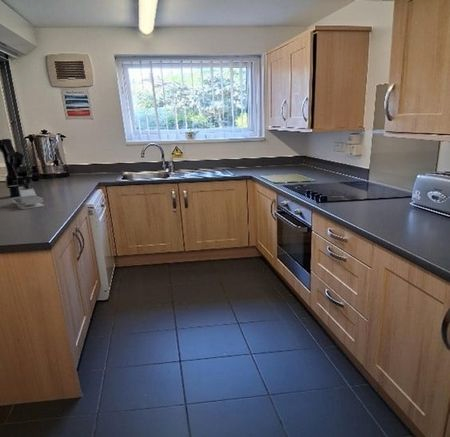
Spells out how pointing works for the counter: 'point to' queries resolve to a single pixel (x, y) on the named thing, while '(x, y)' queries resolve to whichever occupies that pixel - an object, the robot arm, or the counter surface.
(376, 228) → the counter surface
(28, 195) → the skincare box
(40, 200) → the light grey flat frame
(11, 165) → the robot arm
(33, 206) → the pad
